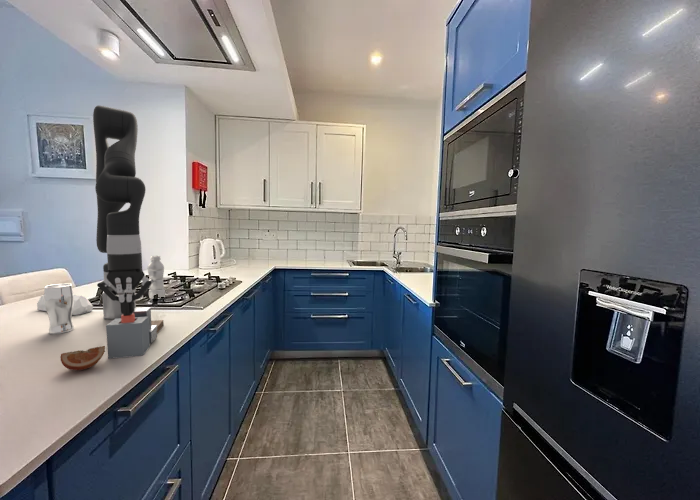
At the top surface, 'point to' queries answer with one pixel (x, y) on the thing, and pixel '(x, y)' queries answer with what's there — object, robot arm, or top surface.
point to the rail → (158, 324)
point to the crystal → (79, 305)
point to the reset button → (128, 318)
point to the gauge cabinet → (127, 338)
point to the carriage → (152, 329)
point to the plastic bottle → (156, 277)
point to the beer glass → (59, 307)
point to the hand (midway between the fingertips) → (128, 314)
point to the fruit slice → (82, 358)
